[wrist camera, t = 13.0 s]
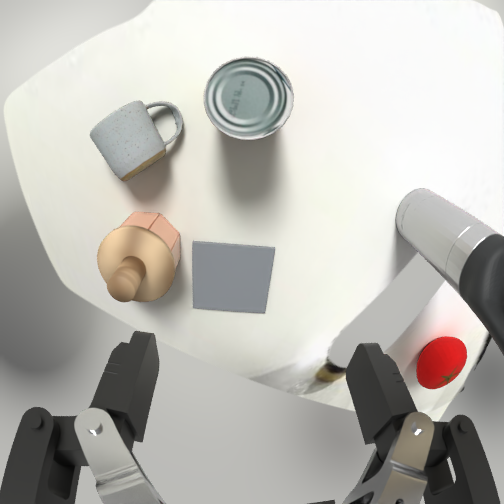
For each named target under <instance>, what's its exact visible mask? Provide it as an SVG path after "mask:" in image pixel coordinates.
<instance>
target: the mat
mask: <svg viewBox="0 0 504 504" xmlns="http://www.w3.org/2000/svg"><path fill="white" fill-rule="evenodd" d="M274 253H275V247H264V246H251V245H239V244H226V243H213V242H200V241H193V246H192V276H193V308H201V309H212V310H225V311H239V312H255V313H265V309H266V303H267V297H268V291H269V285H270V278H271V272H272V266H273V259H274Z"/></svg>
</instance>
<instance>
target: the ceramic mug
mask: <svg viewBox="0 0 504 504" xmlns="http://www.w3.org/2000/svg"><path fill="white" fill-rule="evenodd" d="M155 106H167V107H169V108H170V109H171V110H172V113H173V115H174V117H175V120H176V123H175V124H176V125H177V128H178V129H177V131H176V133H175V135H174V136H173V137H172V138H171V139H170V140H168V141H167V142H163V140H162V138H161V136H160V134H159V133H158V130H157V129H156V127H155V125H154V123H153V121H152V119H151V117H150V115H149V113H148V111H147V109H149V108H151V107H155ZM182 126H183V120H182V115H181V113H180V111H179V109H178V108H177V107H176V106H175V105H173V104H172V103H169V102H163V101H159V102H153V103H150V104H148V105H144V104H143V102H142V101H134V102H132V103H129V104H127V105H125V106H123V107H121V108H119V109H118V110H116V111H114V112H113V113H111V114H110V115H108V116H107V117H106V118H104V119H103V120H102V121H101V122H99V123H98V124H97V125H96V126H95V127H94V128H93V129H92V130H91V132H90V137H91V139H92V140H93V142H94V143H95V145H96V146H97V148H98V150H99V151H100V153H101V154H102V156H103V157H104V158H105V160H106V161H107V163H108V164H109V166H110V168H111V169H112V171H113V172H114V173H115V174H116V175H117V176H118V177H119V178H120V179H121V180H122V181H127V180H129V179H130V178H132V177H133V176H135V175H136V174H138V173H139V172H141V171H142V170H144V169H145V168H147V167H148V166H150V165H151V164H153V163H154V162H156V161H157V160H159V159H160V158H162V157H163V156H164V155H165V152H166V148H165V147H166V145H168V144H169V143H171V142H172V141H173V140H175V139H176V138H177V136H178V135H179V134H180V132H181V130H182Z"/></svg>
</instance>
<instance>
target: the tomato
mask: <svg viewBox="0 0 504 504" xmlns="http://www.w3.org/2000/svg"><path fill="white" fill-rule="evenodd" d="M466 359H467V350H466V347H465V345H464V343H463V342H462V341H461V340H460V339H457V338H454V337H441V338H438V339H436V340H434V341H432V342H431V343H429V344H428V345H427V346H426V347H425V349H424V350H423V351H422V353H421V354H420V357H419V359H418V362H417V370H416V372H417V379H418V382H419V383H420V384H421V385H422V386H423V387H425V388H428V389H437V388H440V387H443V386H445V385H447V384H448V383H450V382H451V381H453V380H454V379H455V378H456V377H457V376H458V375H459V373H460V372H461V370H462V369H463V367H464V366H465V363H466Z"/></svg>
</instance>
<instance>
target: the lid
mask: <svg viewBox="0 0 504 504" xmlns="http://www.w3.org/2000/svg"><path fill="white" fill-rule="evenodd" d="M97 262H98V267H99V271H100V273H101V275H102V277H103V279H104V280H105V282H106V283H107V289H108V292H109V293H110V295H111V296H112V297H113V298H114V299H116V300H118V301H120V302H129V301H131V300H133V301H138V302H148V301H153V300H156V299H158V298H160V297H162V296H163V295H164V294H165V293H166V292H167V291H168V290H169V288H170V286H171V284H172V282H173V279H174V276H175V260H174V257H173V254H172V252H171V250H170V248H169V247H168V245H167V244H166V243H165V242H164V240H163V239H162V238H161V237H159V236H158V235H157V234H155V233H154V232H152V231H151V230H149V229H146V228H144V227H140V226H134V225H127V226H122V227H119V228H116V229H114V230H113V231H112V232H110V233H109V234H108V235H107V236H106V237H105V238H104V240H103V241H102V242H101V244H100V246H99V249H98V254H97Z"/></svg>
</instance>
